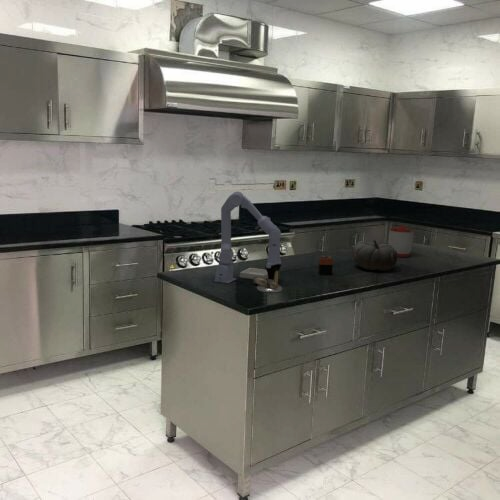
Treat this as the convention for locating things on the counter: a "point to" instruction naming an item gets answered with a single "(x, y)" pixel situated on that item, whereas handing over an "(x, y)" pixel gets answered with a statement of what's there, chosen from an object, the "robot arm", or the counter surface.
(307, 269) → the counter surface
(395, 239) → the citrus juicer
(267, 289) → the crank base
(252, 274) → the tray
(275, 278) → the stop block
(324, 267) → the battery
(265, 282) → the crank lever
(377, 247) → the gourd
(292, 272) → the counter surface
